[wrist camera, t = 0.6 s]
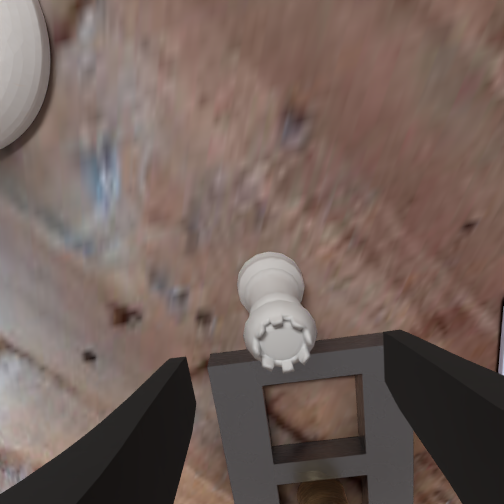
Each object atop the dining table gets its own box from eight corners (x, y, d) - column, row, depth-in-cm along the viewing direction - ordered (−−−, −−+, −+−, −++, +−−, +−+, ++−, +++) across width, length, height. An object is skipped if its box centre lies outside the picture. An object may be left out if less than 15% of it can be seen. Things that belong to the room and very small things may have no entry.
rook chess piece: (301, 310, 20) (335, 391, 12) (238, 312, 20) (231, 395, 12) (302, 248, 19) (339, 293, 11) (235, 251, 19) (224, 297, 11)
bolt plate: (401, 330, 20) (449, 376, 15) (403, 531, 25) (441, 616, 20) (210, 354, 20) (198, 406, 15) (248, 548, 25) (247, 635, 20)
